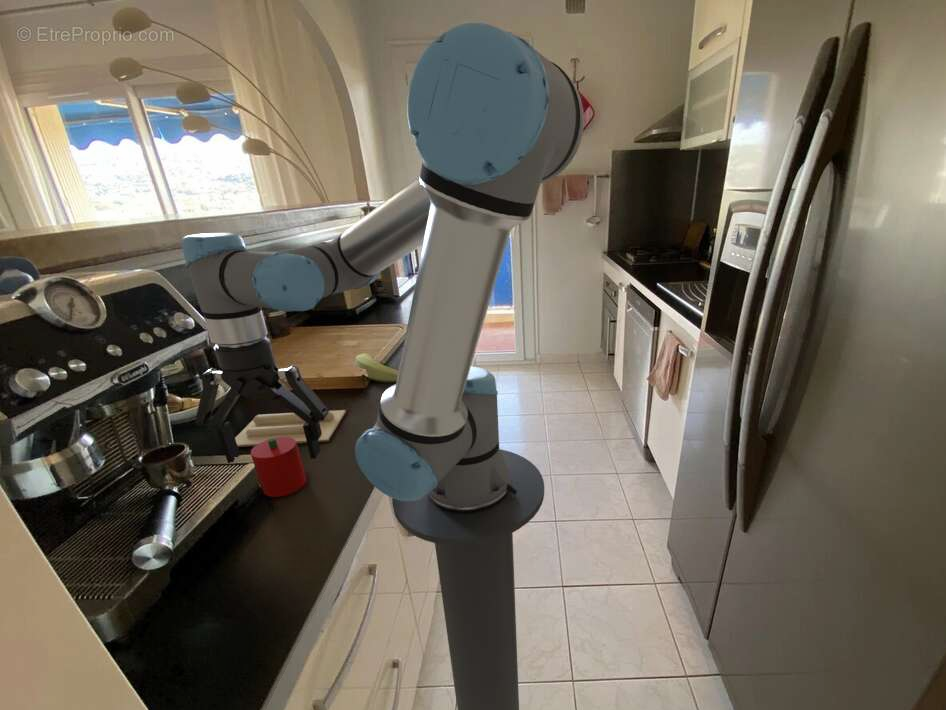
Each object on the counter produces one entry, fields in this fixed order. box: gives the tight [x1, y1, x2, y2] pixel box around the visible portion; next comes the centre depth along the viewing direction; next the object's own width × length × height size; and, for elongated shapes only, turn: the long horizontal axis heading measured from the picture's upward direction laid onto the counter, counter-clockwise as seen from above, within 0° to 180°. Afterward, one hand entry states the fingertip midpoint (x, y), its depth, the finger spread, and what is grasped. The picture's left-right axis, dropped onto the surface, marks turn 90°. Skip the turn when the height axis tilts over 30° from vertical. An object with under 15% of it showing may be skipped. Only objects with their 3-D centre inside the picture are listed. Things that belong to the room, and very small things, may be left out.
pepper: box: [250, 437, 307, 498], centre depth 78 cm, size 7×7×9 cm
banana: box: [354, 352, 399, 383], centre depth 129 cm, size 14×6×20 cm
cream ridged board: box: [235, 409, 347, 448], centre depth 99 cm, size 20×14×2 cm
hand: (275, 456), depth 78 cm, fingers open, 13 cm apart
